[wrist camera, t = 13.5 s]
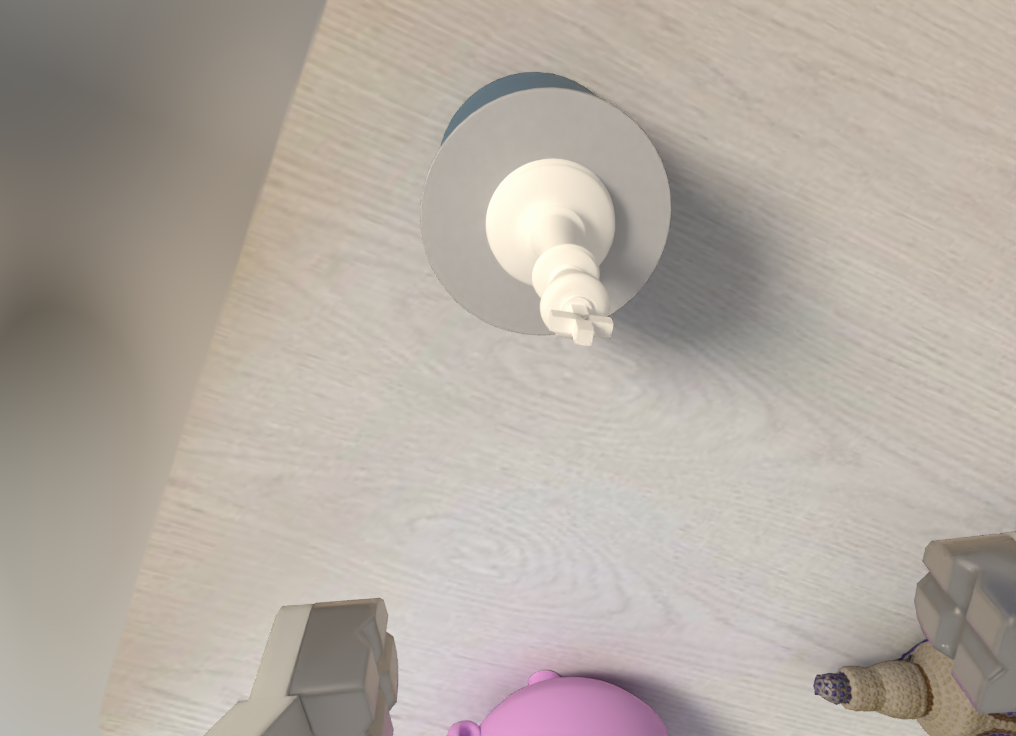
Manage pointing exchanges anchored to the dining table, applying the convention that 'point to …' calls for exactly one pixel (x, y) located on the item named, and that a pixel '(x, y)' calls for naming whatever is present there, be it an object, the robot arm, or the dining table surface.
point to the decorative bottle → (914, 694)
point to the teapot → (566, 711)
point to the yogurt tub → (523, 139)
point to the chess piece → (556, 242)
